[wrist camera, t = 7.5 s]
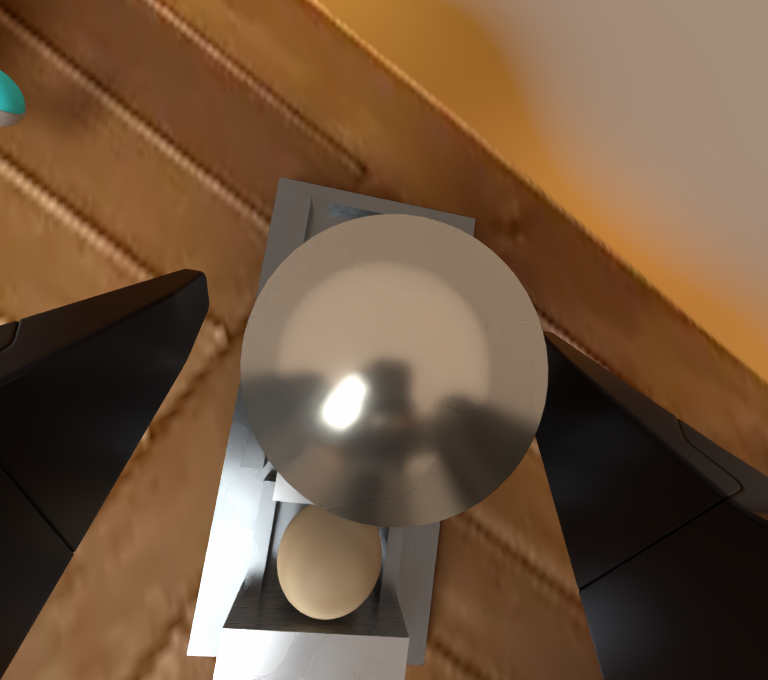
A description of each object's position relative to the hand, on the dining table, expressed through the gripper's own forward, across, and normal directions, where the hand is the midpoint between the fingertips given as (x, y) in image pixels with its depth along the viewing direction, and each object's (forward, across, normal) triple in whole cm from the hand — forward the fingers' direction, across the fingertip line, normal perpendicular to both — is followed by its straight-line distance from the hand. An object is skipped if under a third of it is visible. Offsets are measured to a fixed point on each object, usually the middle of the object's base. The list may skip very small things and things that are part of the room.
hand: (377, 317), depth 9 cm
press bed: (+3, 0, +7) cm, 8 cm away
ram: (+3, 0, +6) cm, 6 cm away
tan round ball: (-1, 0, +10) cm, 10 cm away
